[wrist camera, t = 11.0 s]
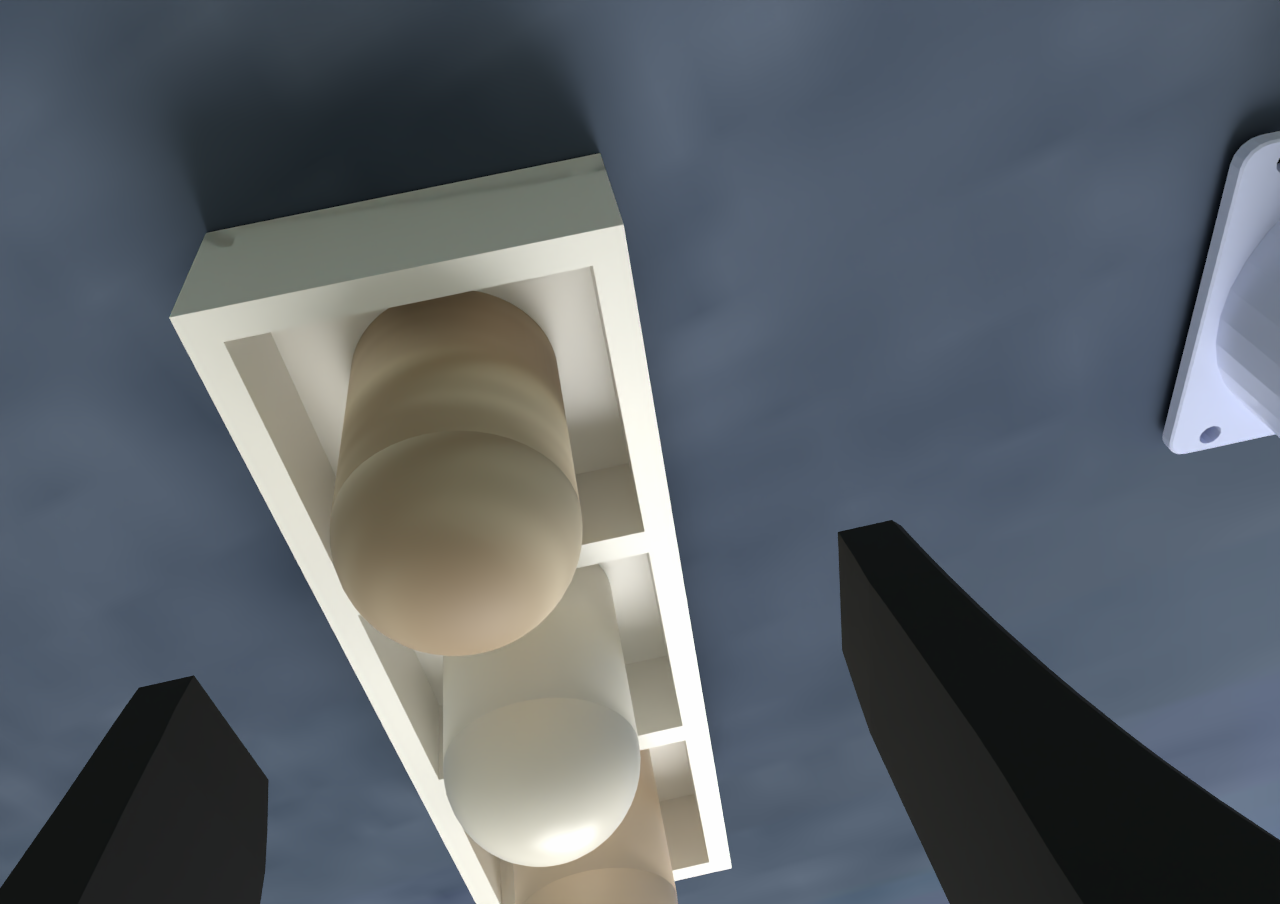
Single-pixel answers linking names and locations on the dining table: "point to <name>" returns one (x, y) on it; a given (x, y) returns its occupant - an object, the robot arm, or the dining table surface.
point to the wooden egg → (455, 477)
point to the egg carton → (611, 538)
